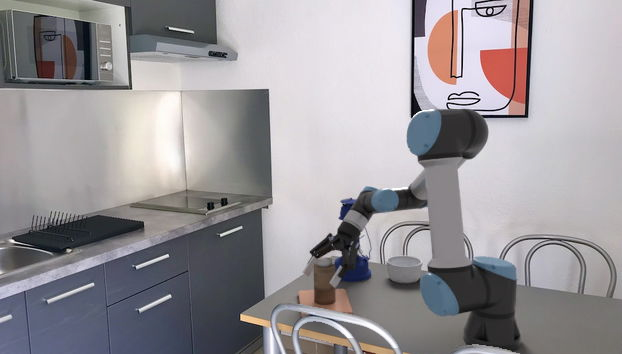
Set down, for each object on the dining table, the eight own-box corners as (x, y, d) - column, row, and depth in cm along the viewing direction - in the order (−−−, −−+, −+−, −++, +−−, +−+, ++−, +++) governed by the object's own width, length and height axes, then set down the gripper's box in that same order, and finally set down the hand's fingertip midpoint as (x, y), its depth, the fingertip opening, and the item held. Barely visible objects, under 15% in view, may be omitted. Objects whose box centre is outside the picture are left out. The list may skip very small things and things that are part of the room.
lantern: (340, 266, 214) (339, 192, 209) (376, 270, 208) (376, 195, 203) (324, 280, 198) (323, 201, 194) (363, 284, 192) (363, 203, 188)
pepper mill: (336, 304, 171) (336, 262, 169) (315, 305, 171) (314, 263, 168) (334, 296, 178) (333, 256, 176) (313, 297, 178) (312, 256, 175)
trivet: (352, 316, 165) (352, 311, 165) (301, 318, 164) (301, 314, 164) (344, 292, 185) (344, 288, 185) (298, 294, 184) (298, 290, 184)
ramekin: (424, 285, 192) (424, 266, 190) (387, 284, 192) (387, 266, 191) (419, 272, 205) (419, 255, 203) (385, 272, 205) (385, 255, 204)
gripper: (384, 240, 171) (350, 296, 164) (333, 226, 190) (301, 276, 184) (373, 227, 167) (338, 284, 160) (322, 214, 186) (288, 264, 179)
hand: (318, 279), depth 172 cm, fingers open, 13 cm apart
